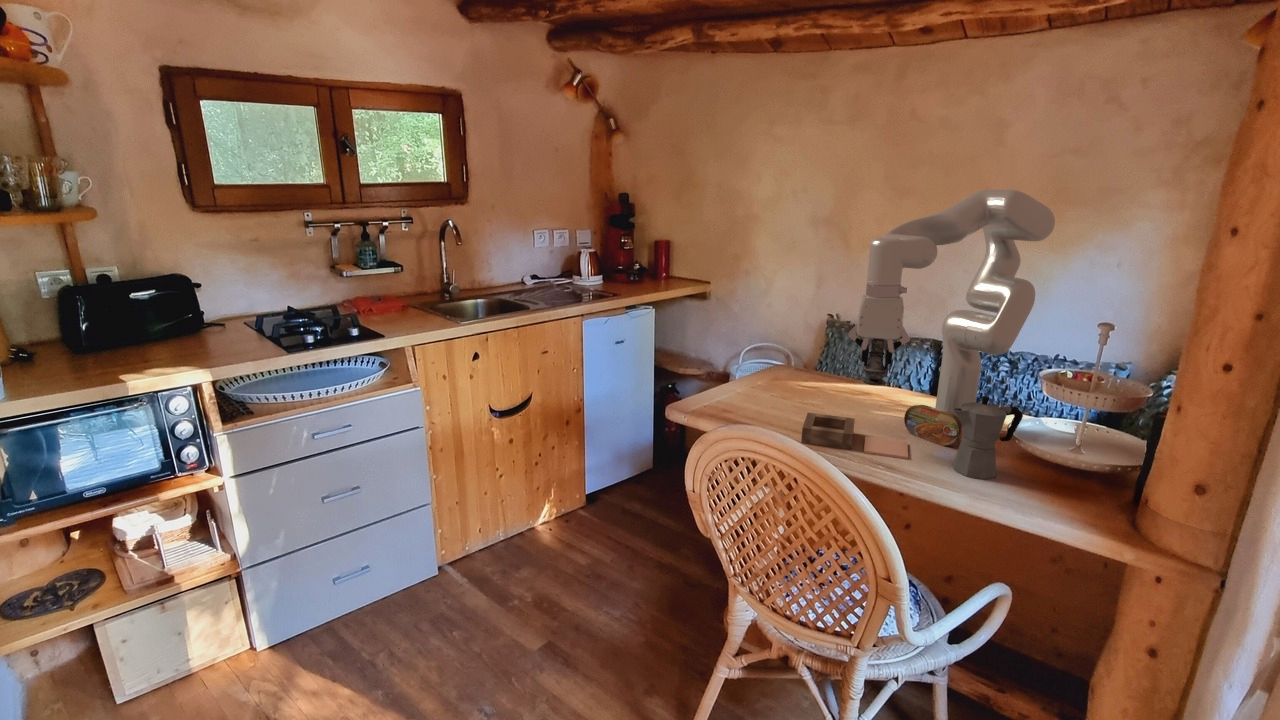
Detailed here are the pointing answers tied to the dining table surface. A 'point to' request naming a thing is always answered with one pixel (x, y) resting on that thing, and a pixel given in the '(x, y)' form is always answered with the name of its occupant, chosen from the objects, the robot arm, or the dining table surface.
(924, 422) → the tin
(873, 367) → the salt shaker
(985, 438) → the coffeepot
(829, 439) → the socket block
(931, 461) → the dining table surface
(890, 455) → the terracotta tile
